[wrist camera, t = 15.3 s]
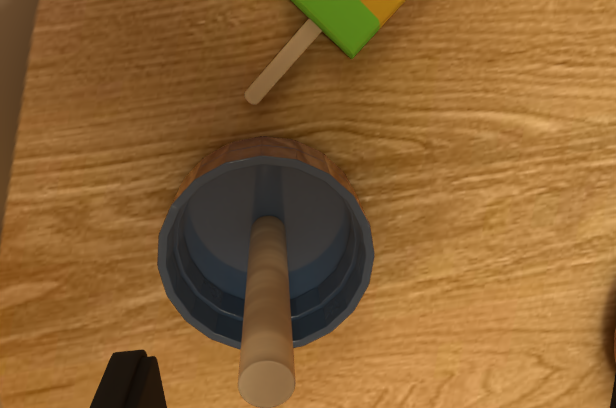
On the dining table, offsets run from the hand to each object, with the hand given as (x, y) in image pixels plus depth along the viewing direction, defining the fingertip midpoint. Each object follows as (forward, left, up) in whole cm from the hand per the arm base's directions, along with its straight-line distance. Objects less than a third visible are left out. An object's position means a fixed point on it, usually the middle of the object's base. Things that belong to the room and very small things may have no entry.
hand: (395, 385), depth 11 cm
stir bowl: (0, -7, -24) cm, 25 cm away
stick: (0, -7, -16) cm, 18 cm away
